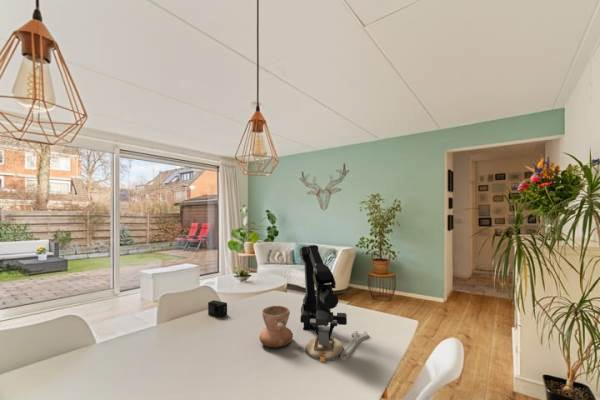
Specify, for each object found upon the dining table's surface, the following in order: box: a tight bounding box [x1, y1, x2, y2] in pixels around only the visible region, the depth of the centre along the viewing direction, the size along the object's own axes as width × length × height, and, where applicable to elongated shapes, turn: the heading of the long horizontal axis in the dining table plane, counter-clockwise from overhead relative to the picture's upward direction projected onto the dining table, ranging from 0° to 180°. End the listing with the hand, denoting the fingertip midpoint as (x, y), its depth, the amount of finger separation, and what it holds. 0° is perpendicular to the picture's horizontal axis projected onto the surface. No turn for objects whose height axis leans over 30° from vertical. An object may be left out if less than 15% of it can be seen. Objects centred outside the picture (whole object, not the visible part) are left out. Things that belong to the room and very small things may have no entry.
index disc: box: [305, 325, 344, 359], centre depth 112 cm, size 15×15×6 cm
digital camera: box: [207, 299, 228, 318], centre depth 153 cm, size 10×5×7 cm, turn 62°
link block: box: [318, 325, 330, 345], centre depth 112 cm, size 4×6×5 cm, turn 170°
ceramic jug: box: [259, 305, 294, 349], centre depth 120 cm, size 18×14×14 cm
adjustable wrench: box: [340, 330, 369, 360], centre depth 116 cm, size 25×6×2 cm, turn 145°
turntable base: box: [304, 347, 345, 363], centre depth 111 cm, size 16×17×2 cm
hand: (324, 338), depth 112 cm, fingers closed on link block, 4 cm apart
